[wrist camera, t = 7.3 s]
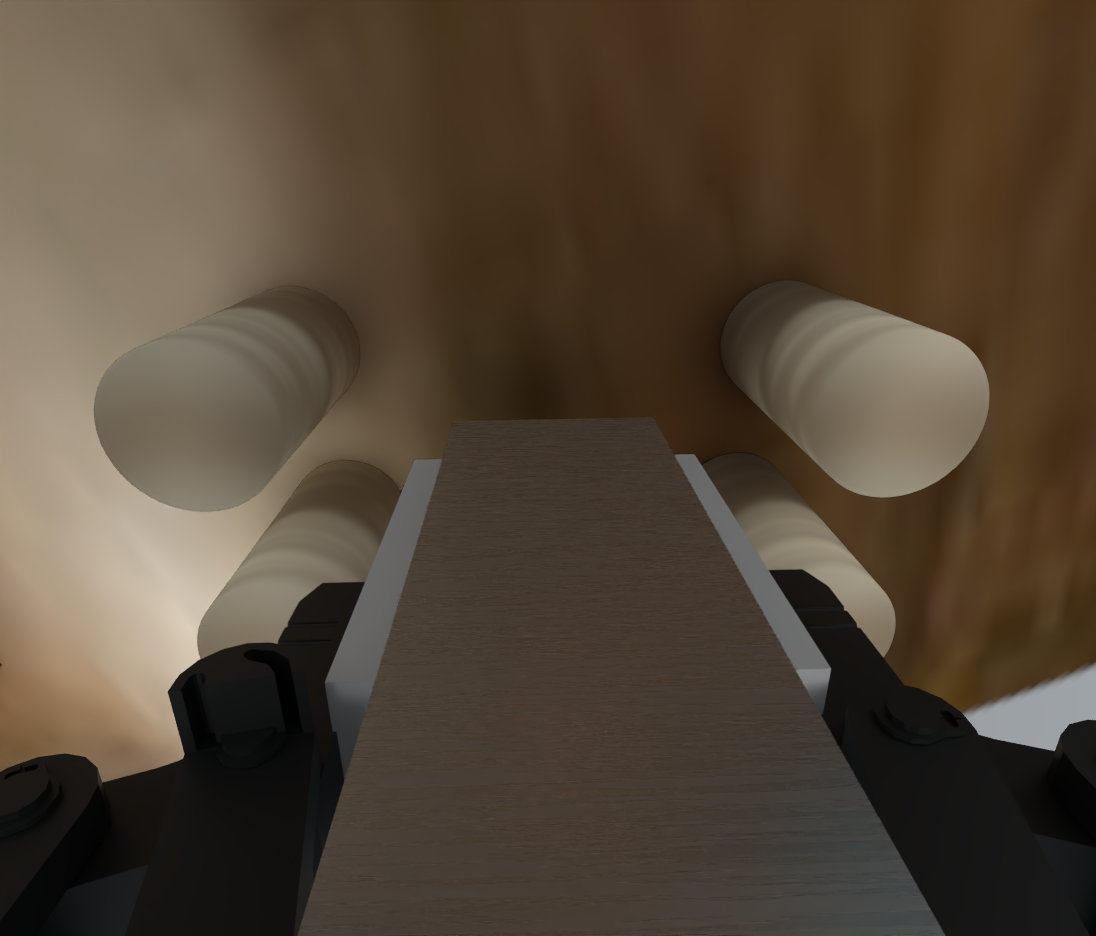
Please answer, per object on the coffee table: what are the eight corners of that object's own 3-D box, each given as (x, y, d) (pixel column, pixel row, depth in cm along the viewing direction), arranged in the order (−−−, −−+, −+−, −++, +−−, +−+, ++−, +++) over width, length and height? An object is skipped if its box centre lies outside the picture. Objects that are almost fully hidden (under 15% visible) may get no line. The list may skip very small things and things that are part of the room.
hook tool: (453, 420, 14) (148, 1424, 3) (653, 417, 14) (1189, 1368, 3) (482, 871, 19) (418, 1896, 7) (629, 866, 19) (785, 1868, 8)
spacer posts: (225, 287, 22) (71, 342, 14) (848, 279, 22) (1008, 329, 15) (294, 658, 27) (210, 836, 20) (790, 645, 28) (885, 812, 21)
